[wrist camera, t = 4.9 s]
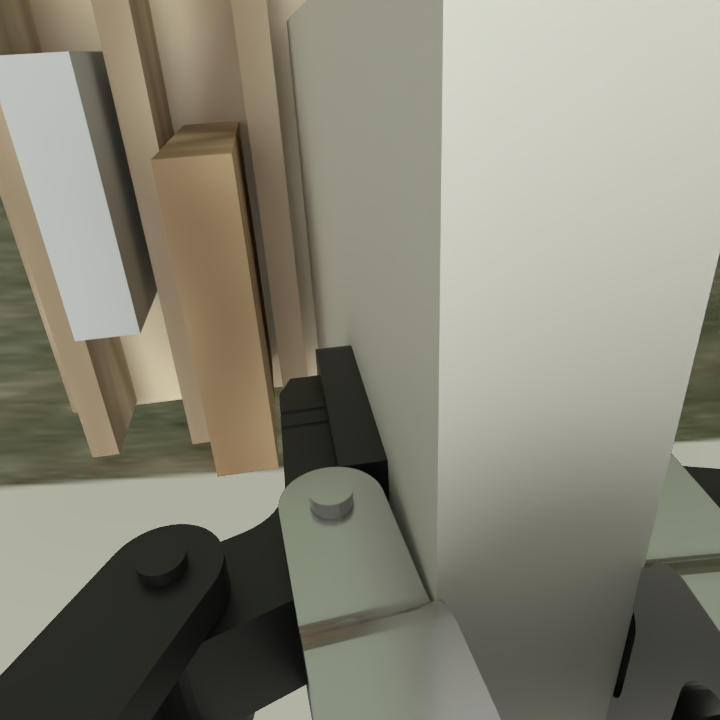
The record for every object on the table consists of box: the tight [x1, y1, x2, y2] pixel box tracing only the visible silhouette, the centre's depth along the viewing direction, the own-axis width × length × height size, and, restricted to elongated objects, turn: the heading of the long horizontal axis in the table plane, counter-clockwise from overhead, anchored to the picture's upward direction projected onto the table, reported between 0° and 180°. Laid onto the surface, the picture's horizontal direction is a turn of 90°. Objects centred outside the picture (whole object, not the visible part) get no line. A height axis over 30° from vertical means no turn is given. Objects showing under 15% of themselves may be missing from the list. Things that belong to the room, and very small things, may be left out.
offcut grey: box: [0, 51, 157, 341], centre depth 19 cm, size 2×8×6 cm, turn 3°
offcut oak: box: [151, 121, 279, 477], centre depth 21 cm, size 2×10×8 cm, turn 3°
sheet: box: [286, 0, 720, 720], centre depth 14 cm, size 2×13×18 cm, turn 3°
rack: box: [0, 0, 318, 457], centre depth 22 cm, size 16×16×5 cm
